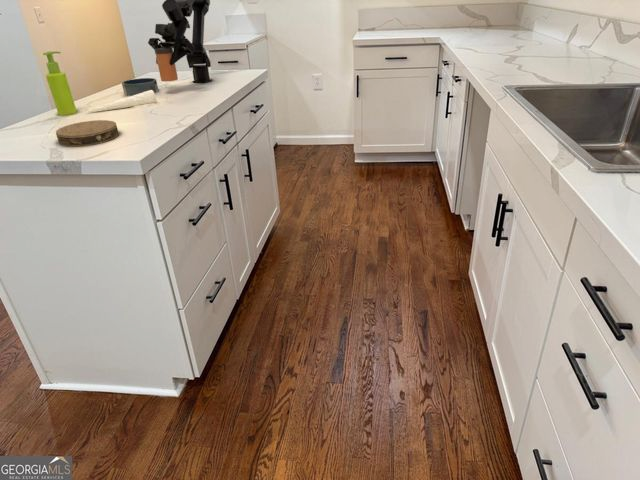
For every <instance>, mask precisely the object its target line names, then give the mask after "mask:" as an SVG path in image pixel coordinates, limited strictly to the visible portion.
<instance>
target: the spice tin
mask: <svg viewBox="0 0 640 480" xmlns="http://www.w3.org/2000/svg"><path fill="white" fill-rule="evenodd" d="M153 50H154V54H155V59H156V58H157V63H158V64H157V63H156V64H157V67H158V72H159V76H160V81H161V82H164V83H165V82H166V83H167V82H175V81H178V80H179V77H178V71H177V65H176V63H174V64H173V65H170V60H171V57H172V54H173V51H174V49H173V48H171V47H165V48H156V49H153Z"/></svg>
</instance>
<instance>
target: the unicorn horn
mask: <svg viewBox="0 0 640 480" xmlns="http://www.w3.org/2000/svg"><path fill="white" fill-rule="evenodd" d="M157 101H158V100H157V96H156V93H154V92H153V90H149V91H146V92H143V93H140V94H136V95H133V96H127V97H123V98H121V99H117V100H114V101H112V102H108V103H105V104H102V105H99V106H96V107H94V108H91V109H88V110H87V113H97V112H105V111H113V110H119V109H127V108H133V107H136V106H141V105H147V104H156V103H158V102H157Z"/></svg>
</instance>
